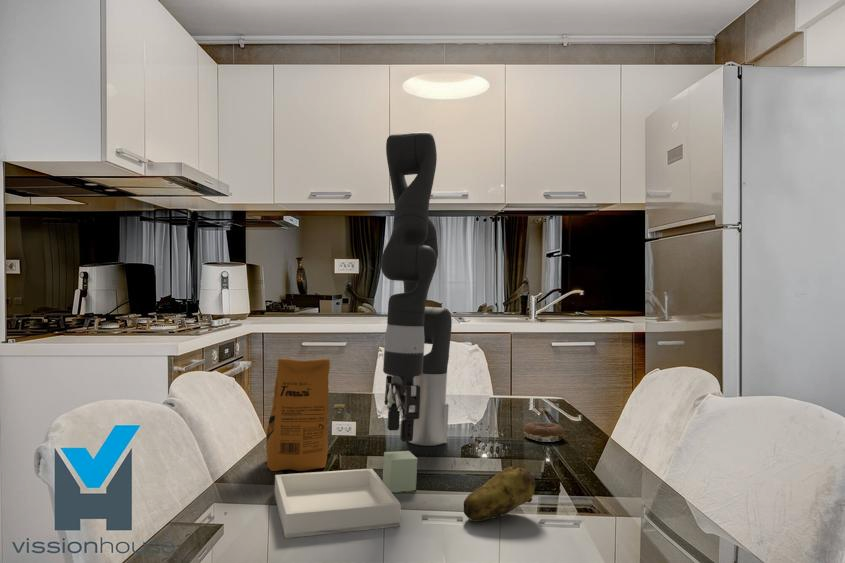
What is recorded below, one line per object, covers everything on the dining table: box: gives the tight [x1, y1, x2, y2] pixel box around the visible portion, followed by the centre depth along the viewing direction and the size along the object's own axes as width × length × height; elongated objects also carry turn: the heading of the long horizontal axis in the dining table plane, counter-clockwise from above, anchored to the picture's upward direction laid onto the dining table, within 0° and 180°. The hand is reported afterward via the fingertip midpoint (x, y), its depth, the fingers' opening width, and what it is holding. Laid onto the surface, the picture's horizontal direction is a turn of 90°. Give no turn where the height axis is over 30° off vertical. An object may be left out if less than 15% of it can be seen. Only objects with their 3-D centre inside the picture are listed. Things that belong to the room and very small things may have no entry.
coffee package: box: [265, 357, 331, 472], centre depth 115 cm, size 10×12×22 cm
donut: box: [522, 422, 565, 438], centre depth 146 cm, size 11×11×4 cm
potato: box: [463, 466, 536, 522], centre depth 93 cm, size 8×13×8 cm, turn 100°
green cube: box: [382, 450, 418, 494], centre depth 105 cm, size 5×5×6 cm
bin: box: [273, 468, 402, 539], centre depth 92 cm, size 18×18×4 cm
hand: (399, 435), depth 105 cm, fingers open, 8 cm apart
